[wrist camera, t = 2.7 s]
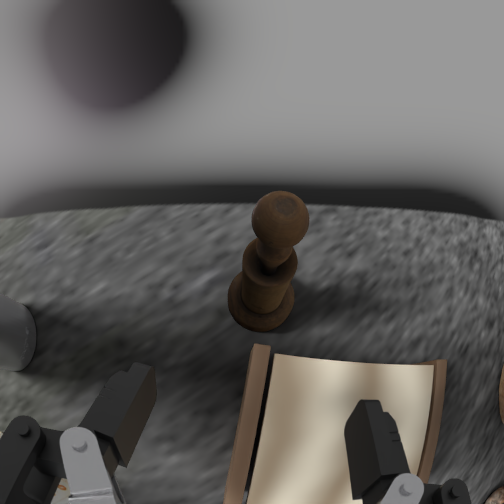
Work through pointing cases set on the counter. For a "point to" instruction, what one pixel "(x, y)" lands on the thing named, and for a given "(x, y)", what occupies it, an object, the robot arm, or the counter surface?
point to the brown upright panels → (252, 410)
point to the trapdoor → (330, 425)
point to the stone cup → (501, 395)
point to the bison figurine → (496, 497)
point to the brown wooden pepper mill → (269, 263)
